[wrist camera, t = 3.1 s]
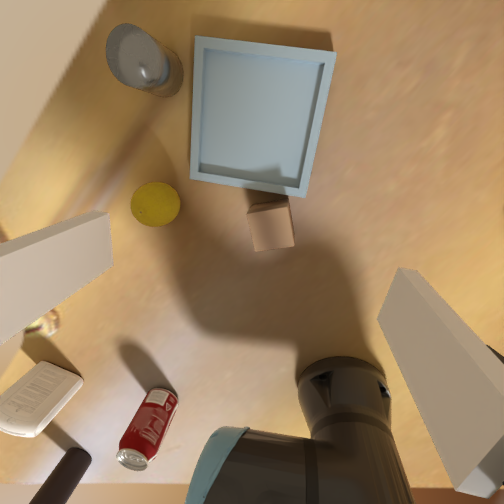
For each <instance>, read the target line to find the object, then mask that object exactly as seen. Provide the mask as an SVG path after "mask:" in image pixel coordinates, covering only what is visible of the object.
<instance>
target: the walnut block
mask: <svg viewBox="0 0 504 504" xmlns="http://www.w3.org/2000/svg"><path fill="white" fill-rule="evenodd" d="M247 219H248V223H249V227H250V232H251V236H252V241H253V245H254V249H255V252H258V251H265V250H272V249H279V248H285V247H292V246H294V228H293V222H292V216H291V210H290V204H289V198H287V199H282V200H277V201H271V202H266V203H260V204H255V205H252V206H251V208H250V209H249V211H248V213H247Z"/></svg>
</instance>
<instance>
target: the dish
mask: <svg viewBox="0 0 504 504" xmlns="http://www.w3.org/2000/svg"><path fill="white" fill-rule="evenodd" d="M336 56H337V52H331V51H323V50H314V49H306V48H298V47H289V46H281V45H273V44H264V43H256V42H247V41H239V40H231V39H222V38H214V37H205V36H197V35H195V49H194V76H193V104H192V131H191V158H190V179H193V180H199V181H205V182H211V183H218V184H224V185H230V186H236V187H242V188H248V189H254V190H260V191H266V192H272V193H278V194H284V195H290V196H296V197H303V198H306V193H307V188H308V184H309V179H310V175H311V170H312V166H313V161H314V156H315V152H316V147H317V143H318V138H319V133H320V129H321V124H322V120H323V115H324V111H325V106H326V101H327V97H328V92H329V88H330V83H331V78H332V74H333V69H334V65H335V60H336Z"/></svg>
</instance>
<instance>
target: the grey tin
mask: <svg viewBox="0 0 504 504" xmlns="http://www.w3.org/2000/svg"><path fill="white" fill-rule="evenodd" d="M106 58H107V62H108V65H109V67H110V69H111V71H112V73H113V74H114V76H115V77H116V78H117V79H118V80H119V81H120V82H122V83H123V84H125V85H127V86H130V87H133V88H136V89H139V90H142V91H146V92H149V93H152V94H155V95H158V96H161V97H170V96H173V95H174V94H176V93H177V92H178V91H179V89H180V87H181V85H182V82H183V68H182V65H181V62H180V60H179V58H178V57H177V56H176V54H174V53H173V52H172V51H171V50H169V49H168V48H167V47H165V46H164V45H162V44H161V43H160V42H158V41H157V40H156V39H154V38H153V37H151V36H150V35H149V34H147V33H146V32H144V31H143V30H142V29H140V28H139V27H137V26H135V25H133V24H121V25H119V26H117V27H115V28H114V29H113V30H112V31H111V33H110V35H109V37H108V39H107V43H106Z"/></svg>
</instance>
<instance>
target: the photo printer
mask: <svg viewBox="0 0 504 504" xmlns="http://www.w3.org/2000/svg"><path fill="white" fill-rule="evenodd" d="M82 385H83V379H82V378H81V377H80V376H78V375H76V374H74V373H72V372H69V371H67V370H65V369H62V368H60V367H58V366H55V365H53V364H51V363H48V362H45V361H40V362H39V363H38V364H37V365H35V366H34V367H33V368H32V369H31V370H30V371H29V372H27V373H26V374H25V375H24V376H23V377H22V378H20V379H19V380H18V381H17V382H16V383H15V384H13V385H12V386H11V387H10V388H9V389H7V390H6V391H5V392H4V393H3V394H2V395H0V430H1V431H3V432H5V433H8V434H11V435H15V436H21V437H35V436H37V435H38V434H39V433H40V432H41V431H42V430H43V429H44V428H45V427H46V426H47V425H48V424H49V422H50V421H51V420H52V419H53V418H54V417H55V416H56V415H57V413H58V412H59V411H60V410H61V409H62V408H63V407H64V405H65V404H66V403H67V402H68V401H69V400H70V399H71V398H72V396H73V395H74V394H75V393H76V392H77V391H78V390H79V388H80V387H81V386H82Z"/></svg>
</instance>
